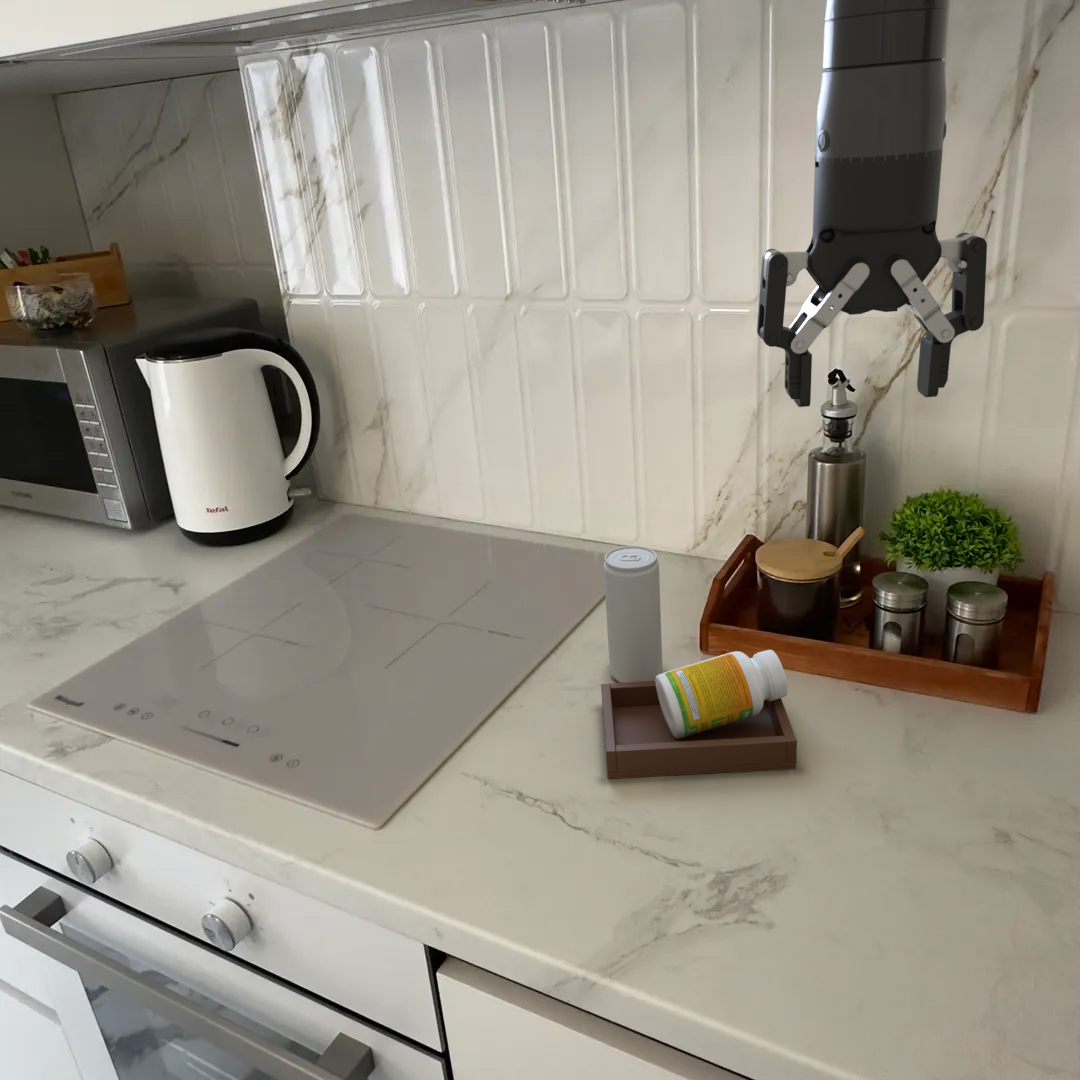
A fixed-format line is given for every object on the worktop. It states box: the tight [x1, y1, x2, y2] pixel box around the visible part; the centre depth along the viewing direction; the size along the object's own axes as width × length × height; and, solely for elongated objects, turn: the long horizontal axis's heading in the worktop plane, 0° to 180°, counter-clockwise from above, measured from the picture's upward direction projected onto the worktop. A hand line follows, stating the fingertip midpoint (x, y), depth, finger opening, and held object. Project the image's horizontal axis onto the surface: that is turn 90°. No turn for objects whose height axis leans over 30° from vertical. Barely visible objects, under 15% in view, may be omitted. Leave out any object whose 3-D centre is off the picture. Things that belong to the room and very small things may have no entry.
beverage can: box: [603, 545, 663, 683], centre depth 87 cm, size 5×5×12 cm
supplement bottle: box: [655, 649, 789, 738], centre depth 79 cm, size 5×5×10 cm
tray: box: [600, 681, 798, 780], centre depth 80 cm, size 15×10×3 cm, turn 89°
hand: (863, 399), depth 67 cm, fingers open, 8 cm apart
